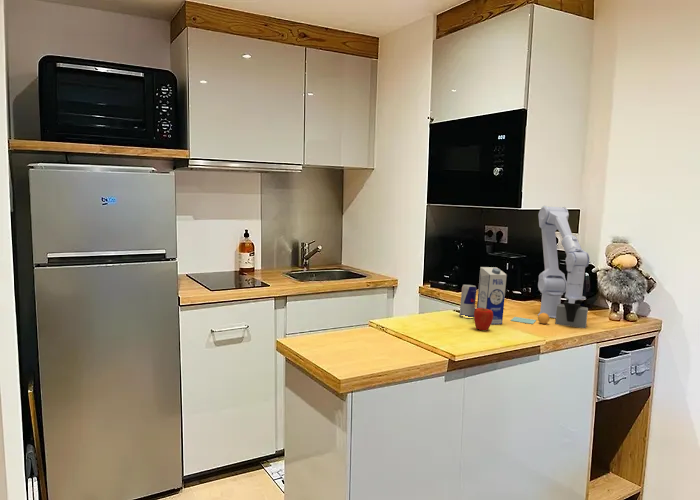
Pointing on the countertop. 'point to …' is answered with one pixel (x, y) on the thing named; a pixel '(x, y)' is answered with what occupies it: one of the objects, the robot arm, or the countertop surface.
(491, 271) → the milk carton
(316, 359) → the countertop surface
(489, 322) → the apple
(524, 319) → the tape square
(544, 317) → the ball
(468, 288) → the energy drink
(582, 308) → the grey rectangular box
